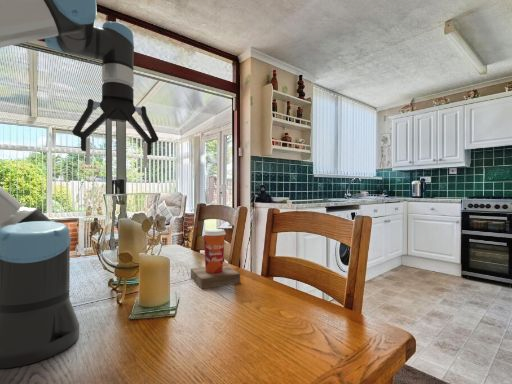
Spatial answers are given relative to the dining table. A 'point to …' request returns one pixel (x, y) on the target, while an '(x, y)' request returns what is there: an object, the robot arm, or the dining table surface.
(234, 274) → the walnut plinth
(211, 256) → the paper cup
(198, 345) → the dining table surface
